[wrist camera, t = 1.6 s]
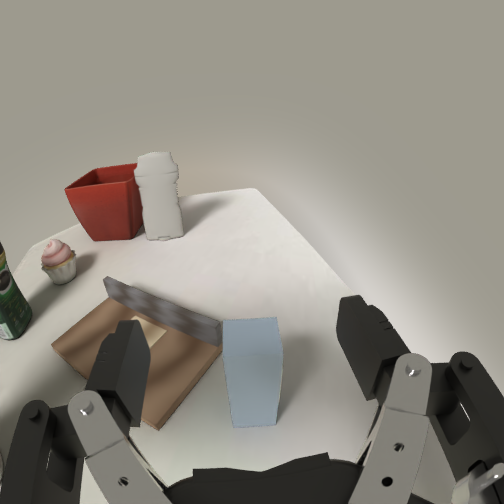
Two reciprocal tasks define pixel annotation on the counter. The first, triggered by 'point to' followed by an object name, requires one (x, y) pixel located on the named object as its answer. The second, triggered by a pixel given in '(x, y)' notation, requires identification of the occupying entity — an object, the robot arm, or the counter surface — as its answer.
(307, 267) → the counter surface
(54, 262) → the cupcake
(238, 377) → the carton
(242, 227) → the counter surface
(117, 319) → the shelf
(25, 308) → the coffee jar
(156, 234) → the tall pale column
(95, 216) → the plant pot
